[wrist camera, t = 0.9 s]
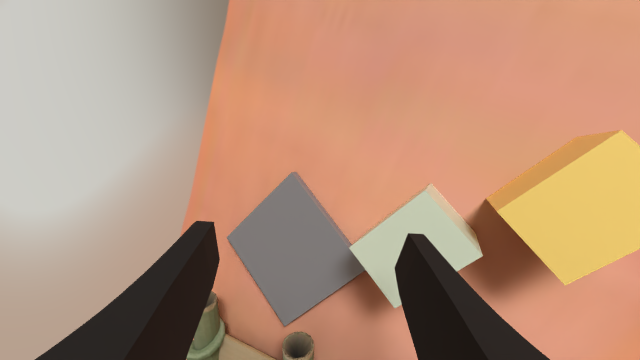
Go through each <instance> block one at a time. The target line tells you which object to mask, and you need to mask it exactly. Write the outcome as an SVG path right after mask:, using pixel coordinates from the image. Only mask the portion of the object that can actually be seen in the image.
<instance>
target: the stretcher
mask: <svg viewBox="0 0 640 360" xmlns="http://www.w3.org/2000/svg"><path fill="white" fill-rule="evenodd" d="M313 357H314V344H313V340H312V338H311V336H309V335H308V334H307V333H304V332H294V333H292V334H290V335H288V336H287V337H286V338H285V340H284V342H283V360H313ZM186 359H187V360H276V359H274V358H272V357H270V356H268V355H266V354H264V353H262V352H261V351H259V350H257V349H255V348H253V347H251V346H249V345H247V344H245V343H243V342H241V341H239V340H237V339H235V338H233V337H231V336H229V335H227V334H225V323H224V322H223V320H222V319H221V317H220V316H219V311H218V303H217V296H216V294H215V293H214V292H212V291H211V293H210V296H209V298H208V301H207V304H206V307H205V309H204V312H203V314H202V317H201V320H200V322H199V325H198V328H197V330H196V333H195V336H194V340H193V341H192V344H191V346H190V349H189V352H188V355H187V358H186Z"/></svg>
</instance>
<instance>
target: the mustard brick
mask: <svg viewBox="0 0 640 360" xmlns="http://www.w3.org/2000/svg"><path fill="white" fill-rule="evenodd" d="M486 199H487V200H488V202H489V203H490V204H491V205H492V206H493V208H494V209H495V210H496V211H497V212H498V214H499V215H500V216H501V217H502V218H503V219H504V220H505V221H506V222H507V223H508V224H509V225H510V226H511V228H512V229H513V230H514V231H515V232H516V233H517V234H518V235H519V236H520V237H521V238H522V239H523V241H524V242H525V243H526V244H527V245H528V246H529V247H530V248H531V249H532V250H533V251H534V252H535V254H536V255H537V256H538V257H539V258H540V259H541V260H542V261H543V262H544V263H545V264H546V265H547V267H548V268H549V269H550V270H551V271H552V272H553V273H554V274H555V275H556V276H557V277H558V278H559V279H560V281H561V282H562V283H563V284H564V285H567V284H569V283H571V282H573V281H575V280H577V279H579V278H581V277H583V276H585V275H587V274H589V273H591V272H593V271H596V270H598V269H600V268H602V267H604V266H606V265H608V264H610V263H612V262H614V261H616V260H618V259H620V258H622V257H624V256H626V255H628V254H630V253H632V252H634V251H636V250H638V249H640V146H639V145H638V144H637V143H636V142H635V141H633V140H632V139H631V138H630V137H629V136H628V135H627V134H626V133H624V132H623V131H622V130H619V131H612V132H606V133H599V134H593V135H586V136H580V137H576V138H574V139H573V140H571V141H570V142H568V143H567V144H565V145H564V146H563V147H561V148H560V149H558V150H557V151H555V152H554V153H552V154H551V155H549V156H548V157H546V158H545V159H543V160H542V161H540V162H539V163H537V164H536V165H534V166H533V167H532V168H530V169H529V170H527V171H526V172H524V173H523V174H521V175H520V176H518V177H517V178H515V179H514V180H512V181H511V182H509V183H508V184H506V185H505V186H503V187H502V188H501V189H499V190H498V191H496V192H495V193H493V194H492V195H490V196H489V197H487V198H486Z"/></svg>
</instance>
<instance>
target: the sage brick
mask: <svg viewBox="0 0 640 360" xmlns="http://www.w3.org/2000/svg"><path fill="white" fill-rule="evenodd" d="M408 233H414V234H424V235H425V236H426V237H427V238H428V239H429V241H430V242H431V243H432V244H433V245H434V246H435V247H436V249H437V250H438V251H439V252H440V253H441V254H442V256H443V257H444V258H445V259H446V260H447V261H448V262H449V264H450V265H451V266H452V267H453V268H454V269H455V270H456V271H459V270H460V269H462V268H464V267H465V266H467V265H469V264H470V263H472V262H474V261H475V260H477V259H479V258H480V257H482V256H483V255H482V252H481V249H480V245H479V242H478V239H477V236H476V233H475V232H474V231H473V230H472V228H471V227H470V226H469V225H468V224H467V223H466V222H465V221H464V219H463V218H462V217H461V216H460V215H459V214H458V213H457V212H456V210H455V209H454V208H453V207H452V206H451V205H450V204H449V203H448V201H447V200H446V199H445V198H444V197H443V196H442V195H441V194H440V192H439V191H438V190H437V189H436V188H435V187H434V186H433V185H432V183H430V184H429V185H427V186H426V187H425V188H423V189H422V190H421V191H419V192H418V193H417V194H415V195H414V196H413V197H411V198H410V199H409V200H408V201H406V202H405V203H404V204H402V205H401V206H400V207H398V208H397V209H396V210H394V211H393V212H392V213H390V214H389V215H388V216H387V217H385V218H384V219H383V220H381V221H380V222H379V223H377V224H376V225H375V226H373V227H372V228H371V229H370V230H368V231H367V232H366V233H365V234H364V235H363V236H362V237H360V238H359V239H358V240H357V241H356V242H355V243H354V244H353V245H352V246H350V247H349V249H350V250H351V251H352V252H353V254H354V255H355V256H356V258H357V259H358V260H359V262H360V263H361V264H362V266H363V267H364V268H365V270H366V271H367V272H368V274H369V275H370V276H371V278H372V279H373V280H374V282H375V283H376V284H377V286H378V287H379V288H380V289H381V291H382V292H383V293H384V295H385V296H386V297H387V299H388V300H389V301H390V303H391V304H392V305H393V307H394V308H397V307H398V306H400V305H402V303H401V300H400V296H399V292H398V286H397V281H396V274H395V265H396V263H397V260H398V258H399V255H400V252H401V250H402V247H403V245H404V242H405V240H406V237H407V235H408Z"/></svg>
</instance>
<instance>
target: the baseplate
mask: <svg viewBox="0 0 640 360" xmlns="http://www.w3.org/2000/svg"><path fill="white" fill-rule="evenodd" d="M227 239H228V240H229V242H230V243H231V245H232V246H233V248H234V249H235V251H236V253H237V254H238V256H239V257H240V259H241V260H242V262H243V263H244V265H245V266H246V268H247V269H248V271H249V273H250V274H251V276H252V277H253V279H254V280H255V282H256V283H257V285H258V286H259V288H260V289H261V291H262V292H263V294H264V296H265V297H266V299H267V300H268V302H269V303H270V305H271V306H272V308H273V309H274V311H275V312H276V314H277V316H278V317H279V319H280V320H281V322H282V323H283V325H284V326H286V325H287V324H289V323H290V322H292V321H293V320H295V319H296V318H297V317H299V316H300V315H302V314H303V313H305V312H306V311H308V310H309V309H310V308H312V307H313V306H315V305H316V304H318V303H319V302H320V301H322V300H323V299H325V298H326V297H328V296H329V295H331V294H332V293H333V292H335V291H336V290H338V289H339V288H341V287H342V286H343V285H345V284H346V283H348V282H349V281H351V280H352V279H354V278H355V277H356V276H358V275H359V274H361V273H362V272H364V271H365V268H364V267H363V266H362V264H361V263H360V262H359V260H358V259H357V258H356V256H355V255H354V254H353V252H352V251H351V250H350V249H349V247H350V246H352V245H351V243H350V242H349V241H348V239H347V238H346V237H345V235H344V234H343V233H342V231H341V230H340V229H339V228H338V226H337V225H336V224H335V222H334V221H333V220H332V218H331V217H330V216H329V214H328V213H327V212H326V210H325V209H324V208H323V207H322V205H321V204H320V203H319V201H318V200H317V199H316V197H315V196H314V195H313V193H312V192H311V191H310V189H309V188H308V187H307V186H306V184H305V183H304V182H303V180H302V179H301V178H300V176H299V175H298V174H297V172H292V173H291V174H290V175H289V176H288V177H287V178H286V179H285V180H284V181H283V182H282V183H281V184H280V185H279V186H278V187H277V188H276V189H275V190H274V191H273V192H272V193H271V194H270V195H269V196H268V197H267V198H266V199H265V200H264V201H263V202H262V203H261V204H260V205H259V206H258V207H257V208H256V209H255V210H254V211H253V212H252V213H251V214H250V215H249V216H248V217H247V218H246V219H245V220H244V221H243V222H242V223H241V224H240V225H239V226H238V227H237V228H236V229H235V230H234V231H233V232H232V233H231V234H230V235H229V236H228V237H227Z"/></svg>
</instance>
